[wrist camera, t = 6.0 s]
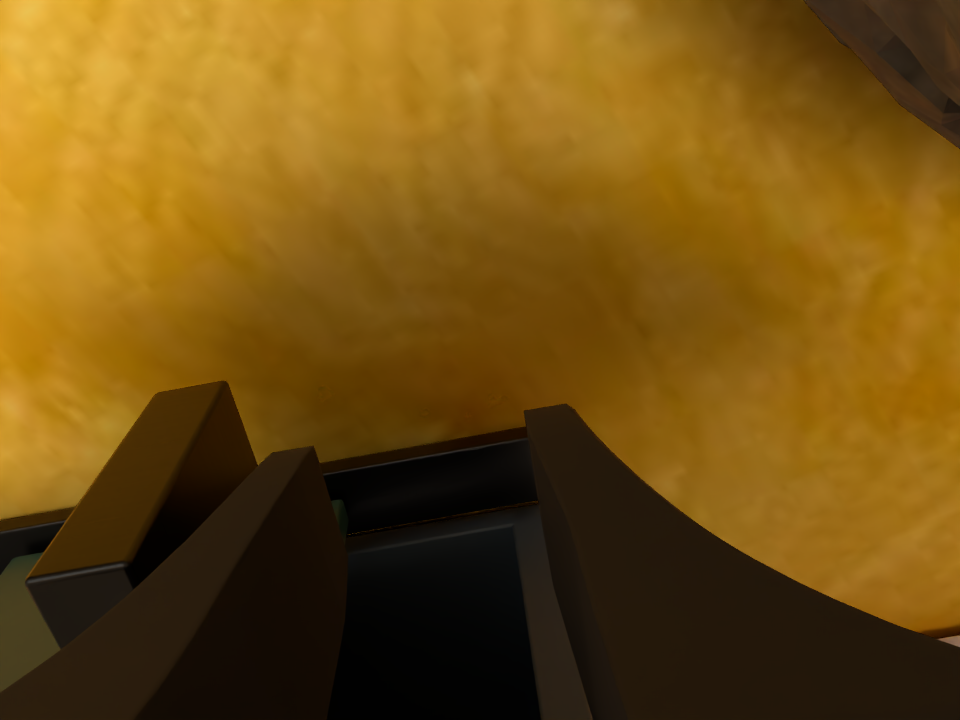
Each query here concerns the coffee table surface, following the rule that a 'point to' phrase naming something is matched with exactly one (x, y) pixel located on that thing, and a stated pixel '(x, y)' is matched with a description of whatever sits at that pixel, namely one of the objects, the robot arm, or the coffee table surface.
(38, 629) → the sliding door
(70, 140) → the coffee table surface
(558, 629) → the cabinet
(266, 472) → the robot arm
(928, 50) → the bowl
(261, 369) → the coffee table surface
